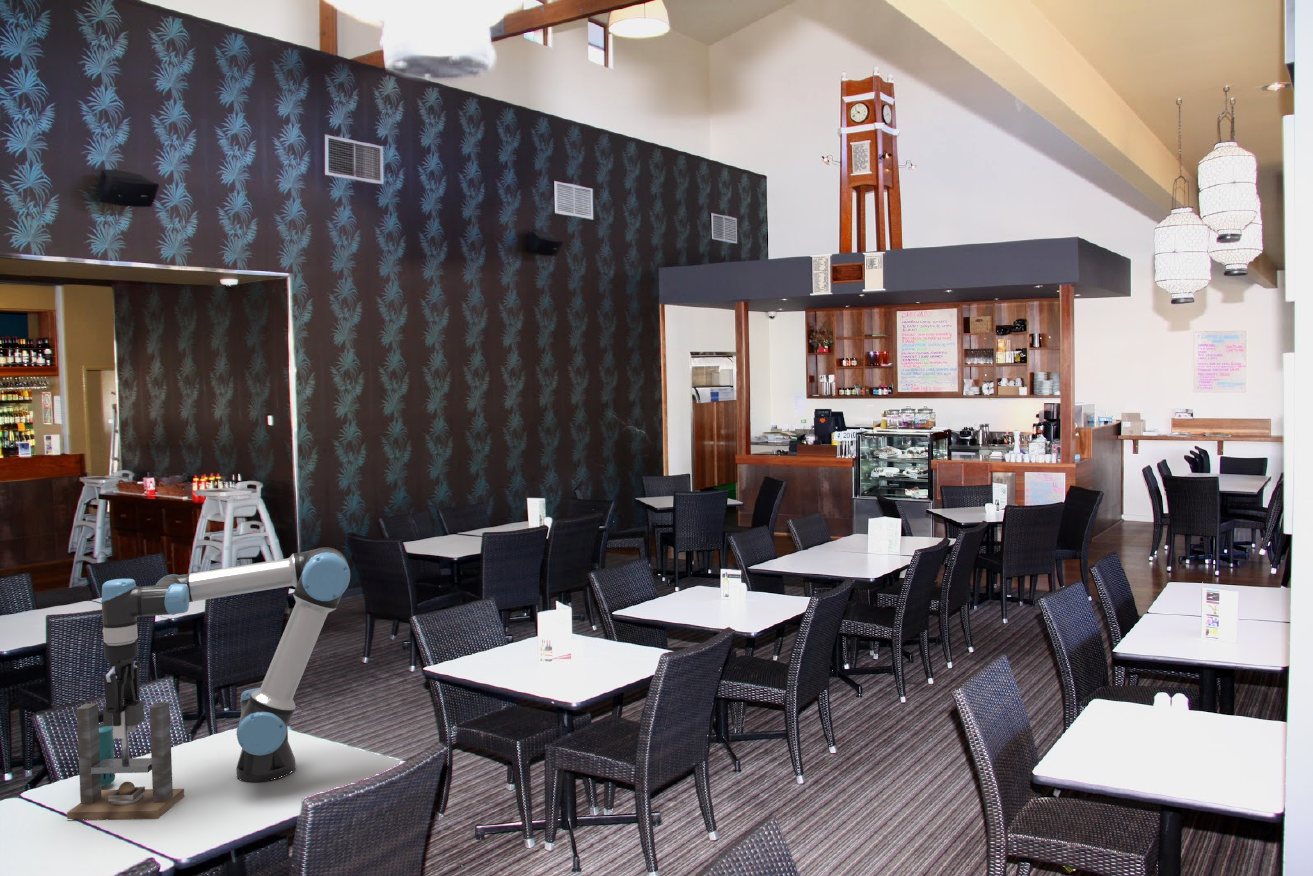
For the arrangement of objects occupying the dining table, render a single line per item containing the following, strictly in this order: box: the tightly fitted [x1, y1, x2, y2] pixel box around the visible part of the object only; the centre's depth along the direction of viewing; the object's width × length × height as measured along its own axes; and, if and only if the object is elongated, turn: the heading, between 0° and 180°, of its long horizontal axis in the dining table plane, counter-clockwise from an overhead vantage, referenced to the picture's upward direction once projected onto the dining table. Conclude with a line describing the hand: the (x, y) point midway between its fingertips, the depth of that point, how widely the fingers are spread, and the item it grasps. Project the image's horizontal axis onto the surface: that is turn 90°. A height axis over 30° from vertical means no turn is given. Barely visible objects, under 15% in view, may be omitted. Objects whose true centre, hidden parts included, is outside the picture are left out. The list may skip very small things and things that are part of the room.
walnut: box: [118, 781, 136, 795], centre depth 254 cm, size 4×4×4 cm
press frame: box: [66, 701, 185, 821], centre depth 253 cm, size 22×14×26 cm, turn 90°
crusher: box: [91, 700, 152, 774], centre depth 253 cm, size 14×6×16 cm, turn 90°
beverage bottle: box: [98, 710, 117, 787], centre depth 267 cm, size 6×7×20 cm
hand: (124, 734), depth 253 cm, fingers closed on crusher, 4 cm apart
